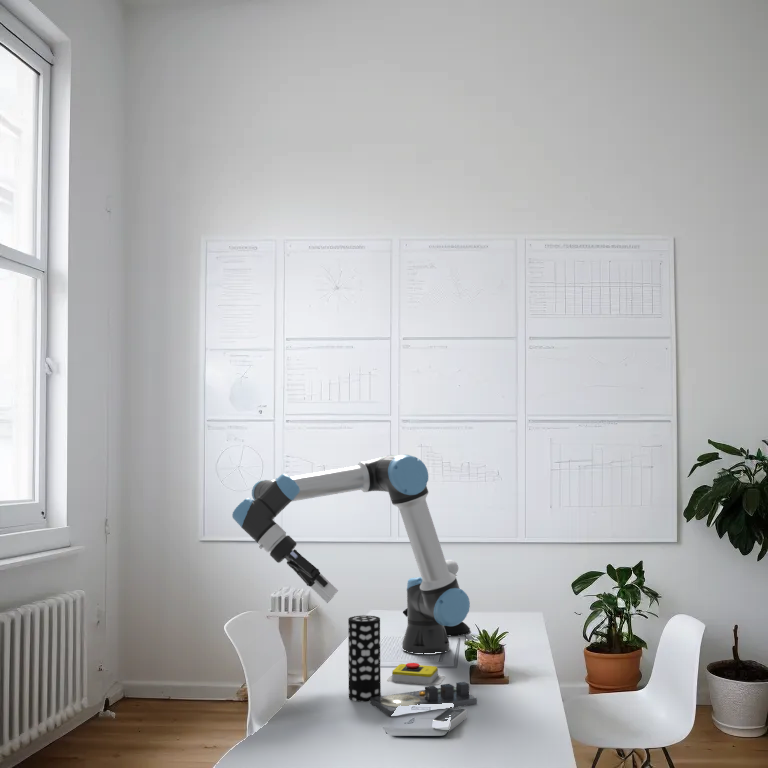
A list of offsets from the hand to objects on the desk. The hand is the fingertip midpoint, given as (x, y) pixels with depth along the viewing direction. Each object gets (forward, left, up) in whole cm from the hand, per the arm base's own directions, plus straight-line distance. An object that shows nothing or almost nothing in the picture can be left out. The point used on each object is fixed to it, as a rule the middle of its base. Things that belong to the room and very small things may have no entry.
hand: (332, 597), depth 232 cm
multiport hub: (-13, +43, -24) cm, 51 cm away
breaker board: (-14, +27, -23) cm, 39 cm away
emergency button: (-23, +5, -24) cm, 34 cm away
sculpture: (-57, -47, -24) cm, 77 cm away
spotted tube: (-3, +15, -24) cm, 28 cm away
